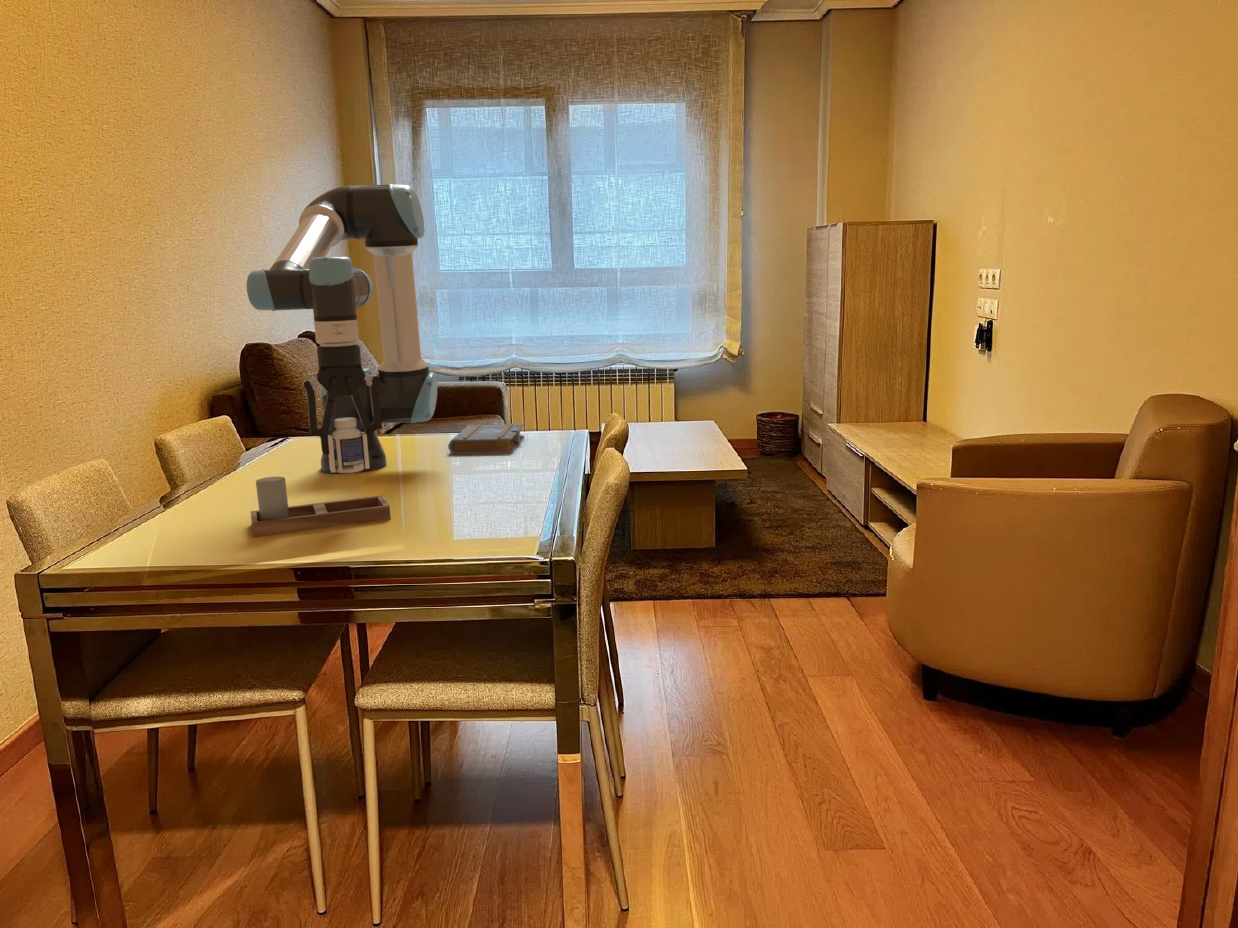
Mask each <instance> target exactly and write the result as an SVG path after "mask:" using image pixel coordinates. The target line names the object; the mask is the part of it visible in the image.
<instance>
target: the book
mask: <svg viewBox="0 0 1238 928" xmlns="http://www.w3.org/2000/svg"><path fill="white" fill-rule="evenodd" d="M523 427H524V424H523V423H509V424H507V423H506V424H504V423H503V424H481V423H479V424H468V425H467V426H465V428H463V430H460V432H459V433H458V434H457V435H455V436H454V437H453V438H451V440H450V442H449V443H448V450H449V452H450V453H451V455H478V454H479V455H485V454H486V455H487V454H491V455H492V454H512V453H513V452H514V451H515V450H516V449H517V447H519V446H520V445H521V442H523V441H522V440H523V439H524V438H525V435H523V434H521V429H522V428H523Z"/></svg>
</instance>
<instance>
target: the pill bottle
mask: <svg viewBox="0 0 1238 928" xmlns="http://www.w3.org/2000/svg"><path fill="white" fill-rule="evenodd" d="M334 426H335V428H336V431H334V432H333V433H332V439H333V449H334V459H335V470H336V472H338V473H346V474H354V473H353V472H358V471H361V470H363V469H364V468H365V466H364V454H363V443H362V433H361V431H360V430H358V429H356V426H357V420H356V418H352V417H349V418H338V419H335V420H334Z"/></svg>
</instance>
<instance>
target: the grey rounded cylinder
mask: <svg viewBox="0 0 1238 928" xmlns="http://www.w3.org/2000/svg"><path fill="white" fill-rule="evenodd" d="M286 482H287V481H286V478H285V477H283V476H268V477H263V478H259V479H256V480H255V485H256V486H255V488H256V494H257V495H256V497H257V503H258V510H259V513H260V521H265V520H273V519H281V518H289V509H288V507H289V502H288V501H289V500H288V493H287V492H288V491H287V484H286Z"/></svg>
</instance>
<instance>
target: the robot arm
mask: <svg viewBox="0 0 1238 928" xmlns="http://www.w3.org/2000/svg"><path fill="white" fill-rule="evenodd" d="M298 219H299V220H298V227H297V228H296V230H295V231H294V233H293V234H292V236H291V237H290V239H289V240H288V242H287V243H286V245H285V246H284V248H283V249H282V250H281V252H280V254H279V255H278V257H277V258H276V259H275V261H274V263H273V264H272V265H271V267H270V268H269V269H264V268H263V269H261V270H259V269H258V270H253V271H251V272H249V274H248V276H247V279H246V293H247V298H248V300H249V304H250V305H251V306H252V307H253V308H254V309H255V310H256V311H257V310H258V311H272V312H276V311H292V310H293V311H294V310H297V311H298V310H312V312H313V323H314V325H313V326H314V335H315V342H316V344H318V345H319V346H317V348H316V353H317V354H316V355H317V367H318V370H317V373H316V377H313V378H310V379H304V380H303V381H302V385H303V387H304V390H305V392H306V398H307V399H306V401H307V402H306V403H307V414H308V430H309V434H311V435H312V436H317V437H319V438H320V446H321V447H320V448H321V452H322V454H321V458H320V467H321V468H320V469H321V471H323V472H324V473H329V474H347V473H338V472H336V470H335V459H334V449H333V439H332V433H333V432H334V431H336V428H335V426H334V420H335V419H338V418H349V417H352V418H356V420H357V426H356V429H358V430H360V431H361V433H362V443H363V454H364V466H365V468H364V469H363V470H361V471H358V472H353V473H352V474H358V473H365V472H370V471H371V472H372V471H376V470H379V469H382V468H384V467H385V466H387V456H386V453H385V451H384V448H383V445H382V444H381V441H380V439H379V437H378V434H377V430H379V429H382V427H383V424H389V423H390V424H393V423H394V424H396V423H397V424H398V423H400V424H401V423H411V424H414V423H421V422H423V423H424V422H427V421H430V420H431V419H432V418H433V416H434V413H435V410H436V406H437V398H438V379H437V378H438V377H437V373H435V372H433V371H430V370H429V369H430V368H429V363H427V361H425V360H424V359H423V358H422V352H421V342H420V331H419V320H418V319H419V318H418V309H417V308H418V307H417V298H416V283H415V275H414V274H415V273H414V263H413V254H414V253H413V252H415V250H416V249H417V248H418V247H419V242H418V240H419V239H422V238H423V237H424V236H425V220H424V215H423V210H422V207H421V202H420V199H419V198H418V195H417V193H416V191H415V190H414V188H413V187H411V186H410V185H408V184H393V183H390V184H368V185H367V184H365V185H343V186H338V187H335V188H332V189H330V190H328V191H326V192H324V193H322V194H320V195H318V197H315V199H313V200H312V201H310V203H309V204H308V205H307V206H305V208H304V209H303V211H302V212H301V214H300V216H299V218H298ZM346 240H347V241H349V240H364V246H365V249H366V250H367V251H368V252H370V253H371V254H372V256H373V266H374V276H375V277H374V278H375V285H376V288H375V289H376V295H377V296H376V298H377V304H378V305H377V307H378V314H379V315H378V316H379V318H378V319H379V325H380V326H379V327H380V334H381V335H380V337H381V346H382V357H383V360H382V362H381V363H380V364H379V366H378V367H377V373H374V374H373V373H372V372H373V371H372V369H371V368H369V367H362V355H361V346H360V345H359V344H358V343H357V342H359V340H360V335H359V334H360V333H359V324H358V313H357V312H358V311H357V309H358V308H360V307H363V306H364V305H365V304H367V303H368V302H369V301H370V300H371V299H372V297H373V292H374V285H373V280H372V279H371V276H369V274H367V272H365V271H364V270H362V269H360V268H357V267H355V266H353V261H352V259H351V258H350V257H348V256H328V253H329V252H330V250H331V249H332V248H333V247H335V246H337V245H338V244H339V243H341V241H346ZM318 384H320V386H321V393H320V394H321V395H320V397H321V401H322V402H321V404H322V412H323V413H322V420H321V423H320V428H319V427H318V421H317V407H316V395H315V394H316V393H315V391H316V390H317V389H318Z"/></svg>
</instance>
